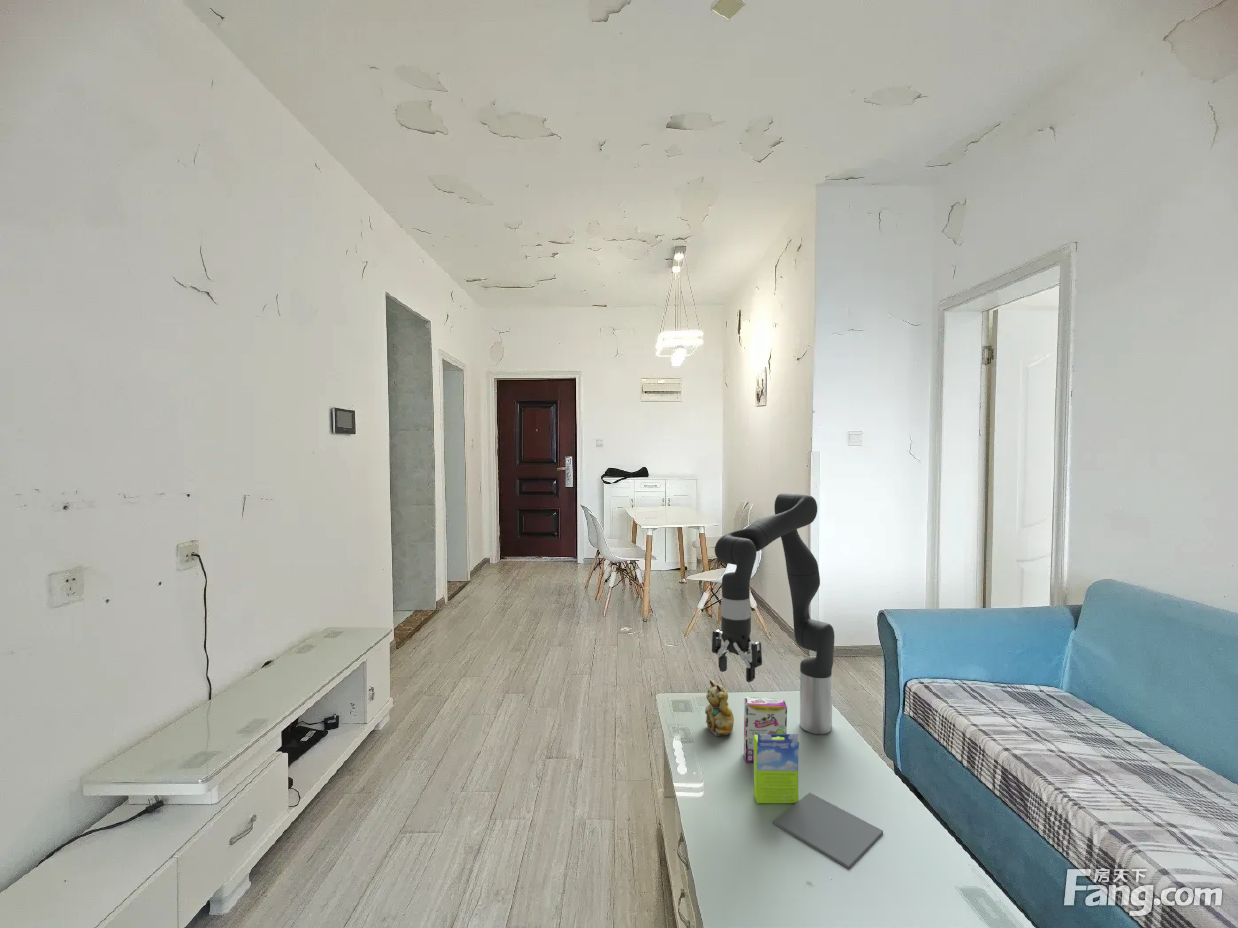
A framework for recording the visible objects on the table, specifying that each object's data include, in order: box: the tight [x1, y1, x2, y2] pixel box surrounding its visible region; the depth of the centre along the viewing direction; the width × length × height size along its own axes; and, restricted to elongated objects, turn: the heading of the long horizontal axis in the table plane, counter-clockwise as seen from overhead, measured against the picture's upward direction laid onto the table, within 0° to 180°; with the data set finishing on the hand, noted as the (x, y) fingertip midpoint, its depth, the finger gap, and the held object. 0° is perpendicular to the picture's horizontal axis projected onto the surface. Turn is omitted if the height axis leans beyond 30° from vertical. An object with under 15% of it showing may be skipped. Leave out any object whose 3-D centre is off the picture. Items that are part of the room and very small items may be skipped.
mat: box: [772, 792, 884, 869], centre depth 123 cm, size 16×18×1 cm
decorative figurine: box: [704, 679, 735, 737], centre depth 166 cm, size 10×8×15 cm
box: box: [753, 733, 800, 804], centre depth 133 cm, size 10×4×17 cm, turn 90°
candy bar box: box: [743, 696, 788, 763], centre depth 151 cm, size 11×5×16 cm, turn 84°
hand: (736, 675), depth 140 cm, fingers open, 8 cm apart
